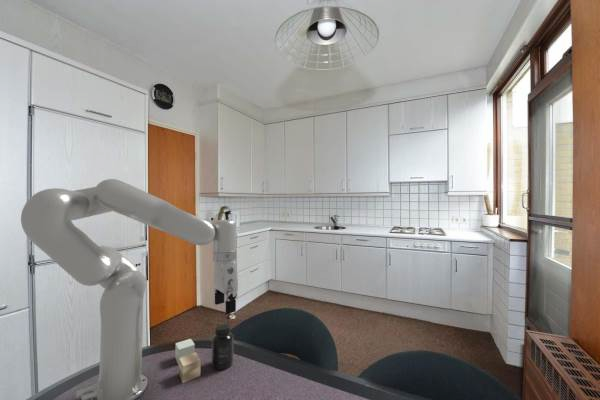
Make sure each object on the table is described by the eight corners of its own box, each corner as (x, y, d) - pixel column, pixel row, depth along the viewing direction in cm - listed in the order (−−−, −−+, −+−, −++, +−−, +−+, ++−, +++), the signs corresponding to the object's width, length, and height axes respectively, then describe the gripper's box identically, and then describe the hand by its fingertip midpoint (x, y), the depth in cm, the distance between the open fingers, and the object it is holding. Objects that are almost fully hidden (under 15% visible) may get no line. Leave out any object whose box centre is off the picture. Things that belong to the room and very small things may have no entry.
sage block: (178, 365, 80) (178, 349, 80) (175, 358, 84) (175, 343, 84) (194, 359, 83) (194, 344, 83) (190, 352, 87) (190, 338, 87)
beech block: (182, 383, 71) (183, 365, 72) (178, 374, 75) (179, 357, 75) (200, 376, 74) (200, 359, 75) (195, 368, 78) (196, 352, 79)
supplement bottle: (236, 358, 83) (237, 323, 84) (227, 371, 76) (228, 332, 77) (217, 357, 84) (218, 321, 85) (207, 369, 77) (208, 331, 78)
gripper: (246, 258, 78) (246, 313, 77) (225, 251, 91) (225, 298, 90) (223, 262, 73) (223, 320, 72) (205, 254, 86) (205, 303, 86)
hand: (224, 307), depth 81 cm, fingers open, 9 cm apart
